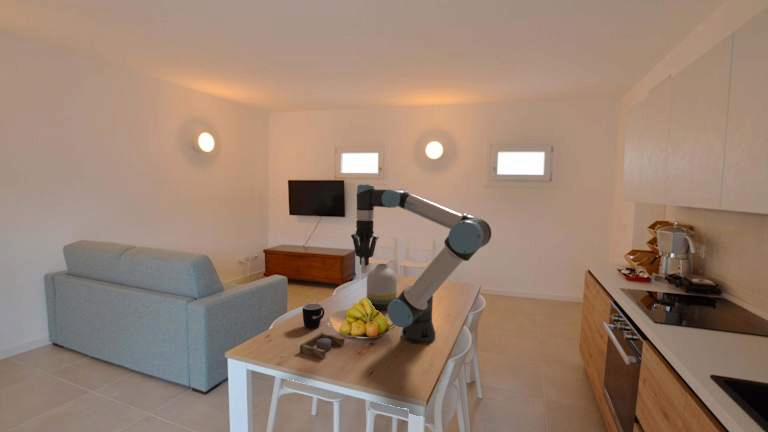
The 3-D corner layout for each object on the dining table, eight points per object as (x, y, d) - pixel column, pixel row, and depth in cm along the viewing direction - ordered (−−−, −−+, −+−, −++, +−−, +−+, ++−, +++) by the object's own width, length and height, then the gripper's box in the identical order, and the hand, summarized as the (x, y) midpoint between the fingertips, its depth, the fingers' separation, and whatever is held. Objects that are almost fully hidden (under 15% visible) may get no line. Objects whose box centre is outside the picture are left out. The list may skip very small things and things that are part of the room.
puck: (333, 348, 150) (333, 339, 150) (325, 353, 144) (325, 345, 144) (322, 345, 152) (322, 337, 152) (313, 350, 147) (313, 342, 147)
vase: (391, 313, 192) (392, 269, 190) (361, 309, 197) (362, 266, 195) (400, 303, 208) (401, 263, 206) (372, 300, 213) (373, 260, 211)
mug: (311, 332, 165) (311, 310, 164) (298, 327, 171) (298, 306, 170) (330, 324, 175) (330, 304, 174) (317, 320, 180) (317, 300, 179)
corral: (344, 345, 152) (344, 338, 152) (323, 359, 140) (323, 351, 139) (321, 339, 158) (321, 332, 158) (300, 352, 145) (300, 345, 145)
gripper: (382, 219, 158) (381, 272, 160) (356, 218, 164) (356, 269, 166) (373, 221, 151) (372, 276, 153) (347, 219, 157) (347, 272, 159)
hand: (364, 272), depth 159 cm, fingers closed
